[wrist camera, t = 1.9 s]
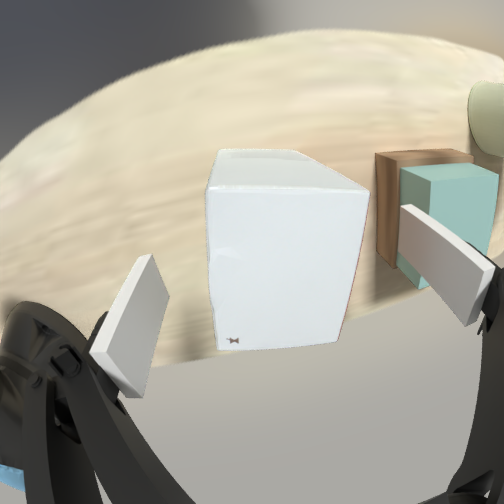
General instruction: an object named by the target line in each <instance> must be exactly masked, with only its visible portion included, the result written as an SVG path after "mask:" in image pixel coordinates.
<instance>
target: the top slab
mask: <svg viewBox="0 0 504 504" xmlns="http://www.w3.org/2000/svg"><path fill="white" fill-rule="evenodd" d="M498 182H499V174H496V173H494V172H492V171H489V170H487V169H484V168H482V167H480V166H477V165H474V164H472V163H454V164H438V165H425V166H414V167H403V168H400V206H402V205H408V204H412V205H414V206H415V207H417V208H418V209H420V210H421V211H423V212H424V213H426V214H427V215H429V216H430V217H432V218H433V219H435V220H436V221H437V222H439V223H440V224H442V225H443V226H444V227H446V228H447V229H449V230H450V231H451V232H453V233H454V234H455V235H457V236H458V237H459V238H461V239H462V240H464V241H466V242H468V243H470V244H472V245H473V246H474V247H476V248H477V250H479V251H481V252H482V253H483V255H485V256H486V254H487V250H488V246H489V241H490V236H491V231H492V226H493V220H494V214H495V208H496V200H497V192H498ZM399 224H400V220H399ZM398 241H399V237H398ZM396 265H397V266H398V268H399V269H400V270H401V271H402V272H403V273H404V274H405V275H406V276H407V277H408V279H409V280H410V281H411V282H412V283H413V284H414V285H415V286H416V288H417V289H421V288H424V287H427V286H430V285H429V283H428V282H427V281H426V280H425V279H424V278H423V277H422V276H421V275H420V274H419V273H418V271H417V270H416V269H415V268H414V267H413V266H412V265H411V264H410V263H409V262H408V261H407V260H406V259H405V258H404V257H403V256H402V255H401V254H400V253H399V252H398V249H397V260H396Z"/></svg>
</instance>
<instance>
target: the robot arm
mask: <svg viewBox="0 0 504 504" xmlns="http://www.w3.org/2000/svg"><path fill="white" fill-rule="evenodd" d="M398 252H399V253H400V254H401V255H402V256H403V257H404V258H405V259H406V260H407V261H408V262H409V263H410V264H411V265H412V266H413V267H414V268H415V269H416V270H417V271H418V273H419V274H420V275H421V276H422V277H423V278H424V279H425V280H426V281H427V282H428V283H429V285H430V286H431V287H432V288H433V289H434V290H435V291H436V292H437V294H438V295H439V296H440V297H441V298H442V299H443V300H444V302H445V303H446V304H447V305H448V306H449V308H450V309H451V310H452V311H453V312H454V314H455V315H456V316H457V317H458V319H459V320H460V321H461V322H462V324H463V325H464V326H465V327H466V326H468V325H470V324H472V323H474V322H476V321H477V318H478V316H479V314H480V311H481V310H482V311H483V313H484V314H485V316H484V318H483V321H482V323H481V325H480V328H479V330H478V333H477V335H479V334H480V332H481V330H483V334H482V336H483V339H482V342H483V343H482V360H481V372H480V373H481V374H480V382H479V390H478V397H477V404H476V409H475V414H474V419H473V425H472V429H471V433H470V437H469V441H468V445H467V449H466V452H465V456H464V459H463V462H462V464H461V466H460V468H459V469H458V470H457V472H456V473H455V475H454V476H453V478H452V480H451V482H450V484H449V486H448V489H447V491H446V492H444V493H442V494H440V495H438V496H435V497H433V498H431V499H428V500H426V501H423V502H421V503H418V504H504V268H502V269H501V268H500V267H498V266H497V265H496V264H495V263H494V262H493V261H491V260H490V259H489V258H488V257H487V256H485V255H483V253H482V252H481V251H479V250H477V248H476V247H474V246H473V245H472V244H470V243H468V242H466V241H464V240H462V239H461V238H459V237H458V236H457V235H455V234H454V233H453V232H451V231H450V230H449V229H447V228H446V227H444V226H443V225H442V224H440V223H439V222H437V221H436V220H435V219H433V218H432V217H430V216H429V215H427V214H426V213H424V212H423V211H421V210H420V209H418V208H417V207H415V206H414V205H412V204H408V205H402V206H400V224H399V241H398ZM169 297H170V296H169V294H168V292H167V289H166V287H165V285H164V282H163V280H162V277H161V275H160V273H159V270H158V268H157V265H156V263H155V260H154V258H153V255H152V254H148V255H144V256H139V257H138V259H137V261H136V263H135V264H134V266H133V268H132V270H131V271H130V273H129V275H128V277H127V278H126V280H125V282H124V284H123V286H122V287H121V289H120V291H119V293H118V295H117V297H116V299H115V301H114V302H113V304H112V306H111V308H110V310H109V311H107V312H105V313H104V314H103V315H102V316H101V317H100V318H99V319H98V321H97V323H96V325H95V327H94V329H93V331H92V333H91V336H90V337H89V339H88V341H86V339H85V338H84V337H83V335H82V334H81V333H80V332H79V331H78V330H77V329H76V328H75V327H74V326H73V325H72V324H71V323H70V322H68V321H67V320H66V319H65V318H63V317H62V316H61V315H59V314H58V313H56V312H55V311H53V310H51V309H50V308H48V307H46V306H44V305H41V304H38V303H35V302H29V301H25V302H21V303H19V304H17V305H16V306H15V308H14V309H13V310H12V312H11V313H10V314H9V316H8V318H7V320H6V324H5V328H4V331H3V335H2V339H1V343H0V481H1V482H3V483H5V484H7V485H9V486H11V487H13V488H16V489H18V490H21V491H24V492H25V493H26V500H27V504H103V502H102V498H101V495H100V491H99V488H98V485H97V480H96V477H95V472H96V475H97V477H98V479H99V481H100V483H101V485H102V486H103V488H104V490H105V492H106V494H107V496H108V497H109V499H110V501H111V502H112V504H196V503H195V502H194V501H193V500H192V499H191V498H190V497H189V496H188V495H187V494H186V492H185V491H184V490H183V489H182V488H181V486H180V485H179V484H178V483H177V482H176V481H175V479H174V478H173V477H172V476H171V475H170V473H169V472H168V471H167V470H166V468H165V467H164V465H163V464H162V463H161V462H160V460H159V459H158V458H157V456H156V455H155V453H154V452H153V451H152V449H151V448H150V446H149V445H148V443H147V442H146V441H145V439H144V438H143V436H142V435H141V433H140V432H139V430H138V429H137V427H136V425H135V424H134V422H133V421H132V419H131V417H130V416H129V414H128V412H127V411H126V409H125V407H124V405H123V404H122V402H121V401H120V400H119V399H118V398H117V396H118V393H119V390H120V391H121V392H122V393H123V394H124V395H125V397H126V398H143V396H144V391H145V387H146V382H147V378H148V374H149V370H150V366H151V362H152V358H153V354H154V350H155V347H156V343H157V339H158V335H159V332H160V328H161V324H162V321H163V317H164V314H165V310H166V307H167V304H168V300H169ZM94 471H95V472H94ZM489 490H490V493H489V496H488V498H486V497H484V495H485V494H486V493H487V492H488V491H489Z"/></svg>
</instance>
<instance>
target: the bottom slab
mask: <svg viewBox="0 0 504 504" xmlns="http://www.w3.org/2000/svg"><path fill="white" fill-rule="evenodd" d="M375 158H376V175H377V252H378V253H379V254H380V255H381V256H382V257H383V258H384V259H385V261H386V262H387V263H388V264H389V265H390V266H391V267H392V268H393V269H395V268H398V266H397V265H396V260H397V249H398V237H399V220H400V168H403V167H414V166H425V165H438V164H454V163H472V164H474V156H472V155H469V154H466V153H463V152H460V151H457V150H453V149H427V150H408V151H394V152H382V153H375Z"/></svg>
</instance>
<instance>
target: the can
mask: <svg viewBox="0 0 504 504" xmlns="http://www.w3.org/2000/svg"><path fill="white" fill-rule="evenodd" d="M468 117H469V124H470V128H471V132H472V135H473V137H474V140H475V142H476V143H477V145H478V147H479V148H480V149H481V150H482V151H483V152H485V153H486V154H489V155H495V156H498V157H501V158H504V84H500V83H492V82H488V81H479V82H477V83H476V84H475V85H474V86H473V88H472V90H471V92H470V96H469V101H468Z"/></svg>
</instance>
